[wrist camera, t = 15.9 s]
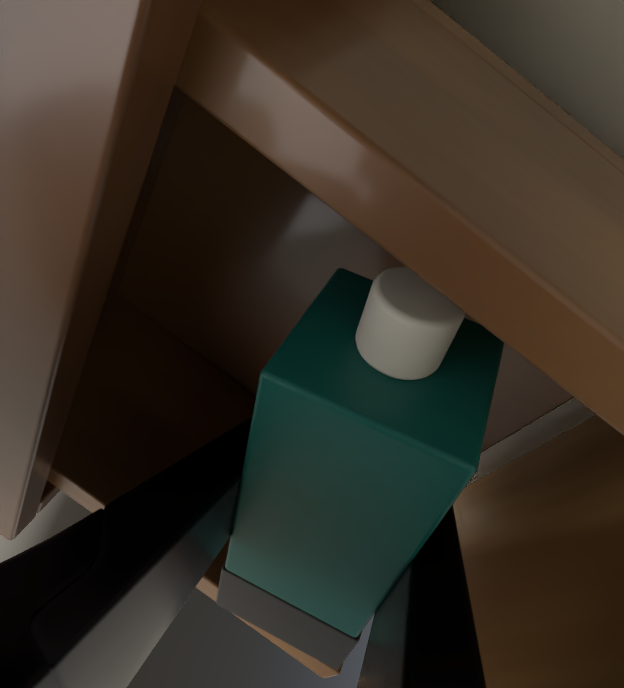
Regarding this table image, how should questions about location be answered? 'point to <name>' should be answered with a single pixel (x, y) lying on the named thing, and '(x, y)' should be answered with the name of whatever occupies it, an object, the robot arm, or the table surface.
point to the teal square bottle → (354, 456)
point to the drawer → (369, 261)
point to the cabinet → (68, 201)
